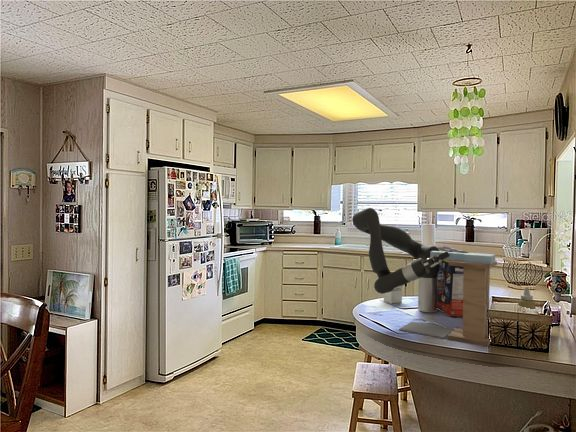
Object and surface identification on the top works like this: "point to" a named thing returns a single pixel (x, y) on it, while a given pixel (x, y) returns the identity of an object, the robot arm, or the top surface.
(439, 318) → the top surface
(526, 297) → the squeeze bottle
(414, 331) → the mat
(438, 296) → the cereal box
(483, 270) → the wooden pedestal stand
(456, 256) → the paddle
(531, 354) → the top surface
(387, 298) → the supplement box
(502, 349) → the top surface
